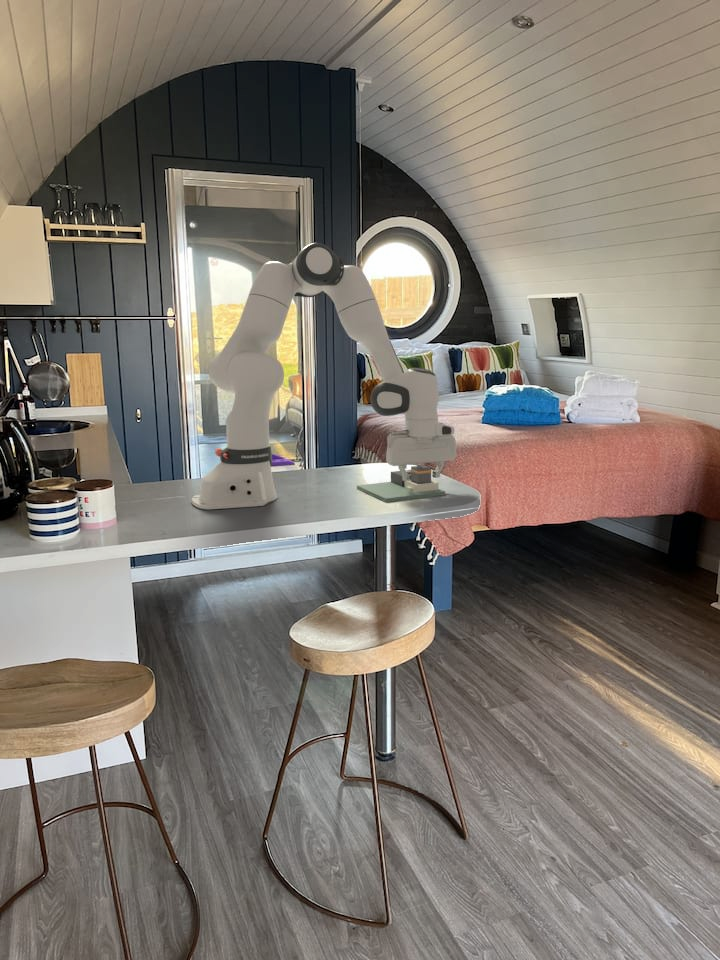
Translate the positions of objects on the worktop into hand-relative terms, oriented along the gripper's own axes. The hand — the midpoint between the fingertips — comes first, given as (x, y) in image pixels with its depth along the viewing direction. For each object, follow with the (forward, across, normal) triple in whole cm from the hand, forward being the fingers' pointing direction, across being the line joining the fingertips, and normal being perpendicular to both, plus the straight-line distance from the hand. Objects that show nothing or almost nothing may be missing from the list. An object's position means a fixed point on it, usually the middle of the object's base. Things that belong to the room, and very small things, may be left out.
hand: (421, 479), depth 204 cm
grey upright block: (+3, 0, 0) cm, 3 cm away
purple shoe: (+4, -24, +56) cm, 61 cm away
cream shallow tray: (+4, 0, 0) cm, 4 cm away
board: (+4, -5, +3) cm, 7 cm away
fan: (+3, 0, +8) cm, 8 cm away
